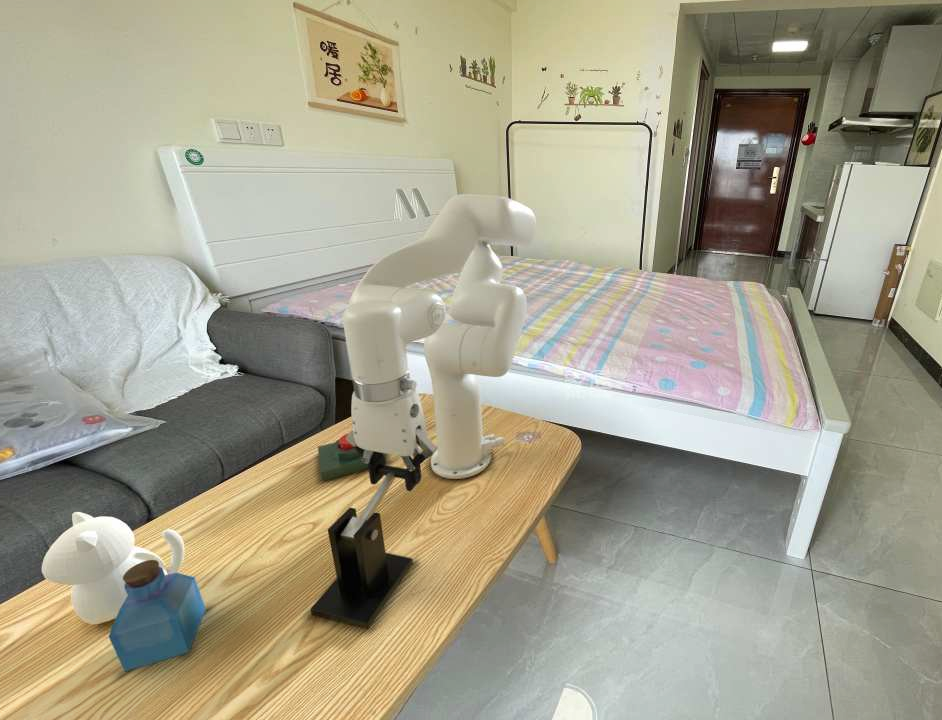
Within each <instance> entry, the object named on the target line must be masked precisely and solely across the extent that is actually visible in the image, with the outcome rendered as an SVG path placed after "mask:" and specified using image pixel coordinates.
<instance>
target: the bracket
mask: <svg viewBox="0 0 942 720" xmlns="http://www.w3.org/2000/svg"><path fill="white" fill-rule="evenodd" d="M357 515H358V514H357V509H356V508H355V507H349V508H347V510H345V512H343V513H342V515H341V516H340V517H338V519H336V520H335V522H334V523H333V524H332V525H331V526H329V528H328V529H327V534H328V535H327V536H328V539H329V545H330V550H331V555H332V560H333V565H334V571H335V575H336V578H335V579H334V581H333V582H332V583H331V585H330V586H329V587H328V588H327V589H326V590H325V592H323V594H322V595H321V596H320V597H319V598H318V599H317V601H316V602H315V603H314V604H313V605H312V606H311V608H310V609H309V611H310V616H313V617H316V618H321V619H325V620H330V621H333V622H338V623H342V624H346V625H349V626H354V627H358V628H362V629H366V630H369V629H370V628H371V626H372V624H373V623H374V621H376V619H377V617H378V616H379V614H380V613H381V612H382V610H383V609H384V607H385V606H386V604H387V602H389V600H390V598H391V597H392V595H393V594H394V592H395V591H396V589H397V588H398V587H399V586H400V583H401V582H402V581H403V579H404V578H405V577H406V575H407V573H408V572H409V570H410V569H411V567H412V566H413V565H414V562H413V560H414V559H413V558H411V557H408V556H404V555H403V556H402V555H398V554H393V553H388V552H386V547H385V546H386V545H385V539H384V532H383V525H382V518H381V513H380V512H376V511H375V512H374V513H373V514H372V515H371V516H370V517H369V519H368V520H367V521H366V522H365V523H364V524H363V525H362V526H361V527H360V528H359V530H358V531H357V532H356V533H355V534H354V541H355V545H352V544H347V543H346V542H345V541H344V539H343V538H342V536H341V533H342V532H343V530H344V529H345V527H346V526H347V524H348V523H349V521H350V520H351V518H352V517H357V518H358V516H357Z"/></svg>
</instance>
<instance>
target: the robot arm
mask: <svg viewBox="0 0 942 720" xmlns="http://www.w3.org/2000/svg"><path fill="white" fill-rule="evenodd" d="M537 230H538V226H537V218H536V215H535V214H534V212H533V211H532V209H531V208H529V206H526V205H525V204H522V203H520V202H519V201H516V200H514V199H512V198H510V197H506V196H501V195H490V194H489V195H488V194H474V193H462V194H461V193H459V194H456V195H454V196H452V197H451V198H449V199H448V201H447V202H446V203H445V204H444V206H443V207H442V208H441V210H440V212H439V213H438V214H437V216H436V217H435V219H434V220H433V221H432V223H431V224H430V225H429V227H428V229H427V230H426V232H425V233H424V234H423V235H422V237H421V238H419V239H417V240H415V241H413V242H410V243H408V244H406V245H404V246H402V247H400V248H398V249H396V250H395V251H392V252H391V253H388V254H387V255H385V256H383V257H382V258H380V259H379V260H377V261H376V262H375V263H374V264H372V265H371V267H370V268H369V269H368V270H367V271H366V272H365V274H364V275H363V276H362V278H361V279H360V281H359V282H358V283H357V285H356V287H355V288H354V290H353V292H352V294H351V296H350V299H349V302H348V307H346V308H345V309H344V311H343V313H342V324H343V330H344V337H345V344H346V348H347V355H348V360H349V367H350V371H351V379H352V385H353V390H354V391H353V392H352V395H351V408H350V409H351V410H350V411H351V412H350V413H351V427H352V429H351V431H350V432H348V433H347V434H348V435H347V436H346V440H347V441H348V442H349V443H350V444H351V445H352V446H355V449H356V451H357V452H358V453H359V454H360V455H362V456H363V459H362V460H363V462H364V463H367V464H368V469H367V470H368V475H369V481H370V485H377V483H379V482H380V481H381V479H382V478H383V477H385V475H379V474H377V473H376V469H377V466H378V465H380V464H382V465H386V464H385V458H384V455H383V453H385V454H388V455H394V456H400V457H401V460H402V461H403V463H404V465H405V467H406V468H405V471H404V476H405V479H404V483H405V490H406V491H407V492H412V491H413V489H414V488H415V487H416V486H417V485H418V484H420V482H421V480H422V478H423V477H422V467H421V465H422V463H424V462H425V461H426V460H428V459H429V458H430V467H431V469H432V471H433V472H434V473H435V474H436V475H437V476H439V477H441V478H444V479H448V480H449V479H451V480H459V479H460V480H461V479H466V478H470V477H473V476H475V475H476V476H477V474H479V473H481V472H483V471H484V470H485V469H486V468H487V467H488V466H489V464H490V463H491V460H492V454H491V451H492V449H494V448H498V447H502V446H505V445H506V443H505V442H506V441H505V438H504V437H503V436H499V437H496V436H495V434H494V433H492V434H488V435H484V434H483V432H484V431H483V408H482V387H481V384H480V380H479V379H478V376H481V377H488V378H489V377H490V378H500V377H503V376H505V375H506V374H507V373H508V372H509V371H510V369H511V368H512V364H513V362H514V358H515V357H516V356H515V355H516V352H517V349H518V345H519V342H520V338H521V336H522V331H523V328H524V324H525V321H526V317H527V310H528V309H527V308H528V302H527V297H526V294H525V292H524V291H523V289H521V287H519V286H517V285H514V284H510V283H501V282H502V278H503V275H504V268H503V265H502V263H501V260H500V259H499V257H498V256H497V255H496V253H495V252H494V251H493V250H492V247H491V246H490V245H495V246H508V247H519V248H520V247H521V248H523V247H528V246H530V245H531V244H532V243H533V242H534V240H535V239H536V236H537ZM459 271H461V273H460V276H459V278H458V280H457V283H456V286H455V288H454V290H453V293H452V295H451V298H450V301H449V305H448V308H449V309H448V310H449V311H448V313H449V316H450V317H451V318H452V320H454V321H455V322H456V323H444V322H445V319H446V316H447V315H446V314H447V309H446V304H445V302H444V300H443V298H442V297H440V295H438V294H436V293H435V292H432V291H431V290H430V291H429V290H426V289H420V288H408V287H410V286H412V285H415V284H418V283H421V282H425V281H429V280H433V279H439V278H442V277H445V276H449V275H452V274H456V273H457V272H459ZM422 339H424V341H423V354H424V359H425V361H426V365H427V368H428V372H429V375H430V379H431V386H432V396H433V410H434V423H435V435H436V445H435V444H434V443H433V441H432V440H431V439H429V437H428V429H427V422H426V418H425V413H424V409H423V404H422V402H421V398H420V396H419V393H418V391H417V389H416V387H417V384H418V383H417V381H416V380H412V379H411V375H410V371H409V364H408V363H409V362H408V355H407V354H408V353H407V345H408V344H410V343H414V342H416V341H419V340H422ZM380 452H381V453H380ZM412 457H413V458H412Z"/></svg>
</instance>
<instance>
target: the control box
mask: <svg viewBox="0 0 942 720" xmlns="http://www.w3.org/2000/svg"><path fill="white" fill-rule="evenodd" d="M317 452H318V461H319V471H320V478H321V481H322V482H326V481H329V480H334V479H336V478H340V477H343V476H347V475H350V474H353V473H357V472H361V471H364V470H368V464H367V463H364V462H363V460H362V459H363V456H362V455H360V454H359V453H358V452H357V451H356V449H355V448H354V449H350V450H342V449H341V448H340V445H339V439H337V440H335V441H334V442H331V443H327V444H323V445H318V446H317ZM380 453H381V452H380ZM386 454H387V453H383V455H384V458H385V465H387V463H388V461H387V455H386Z"/></svg>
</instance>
